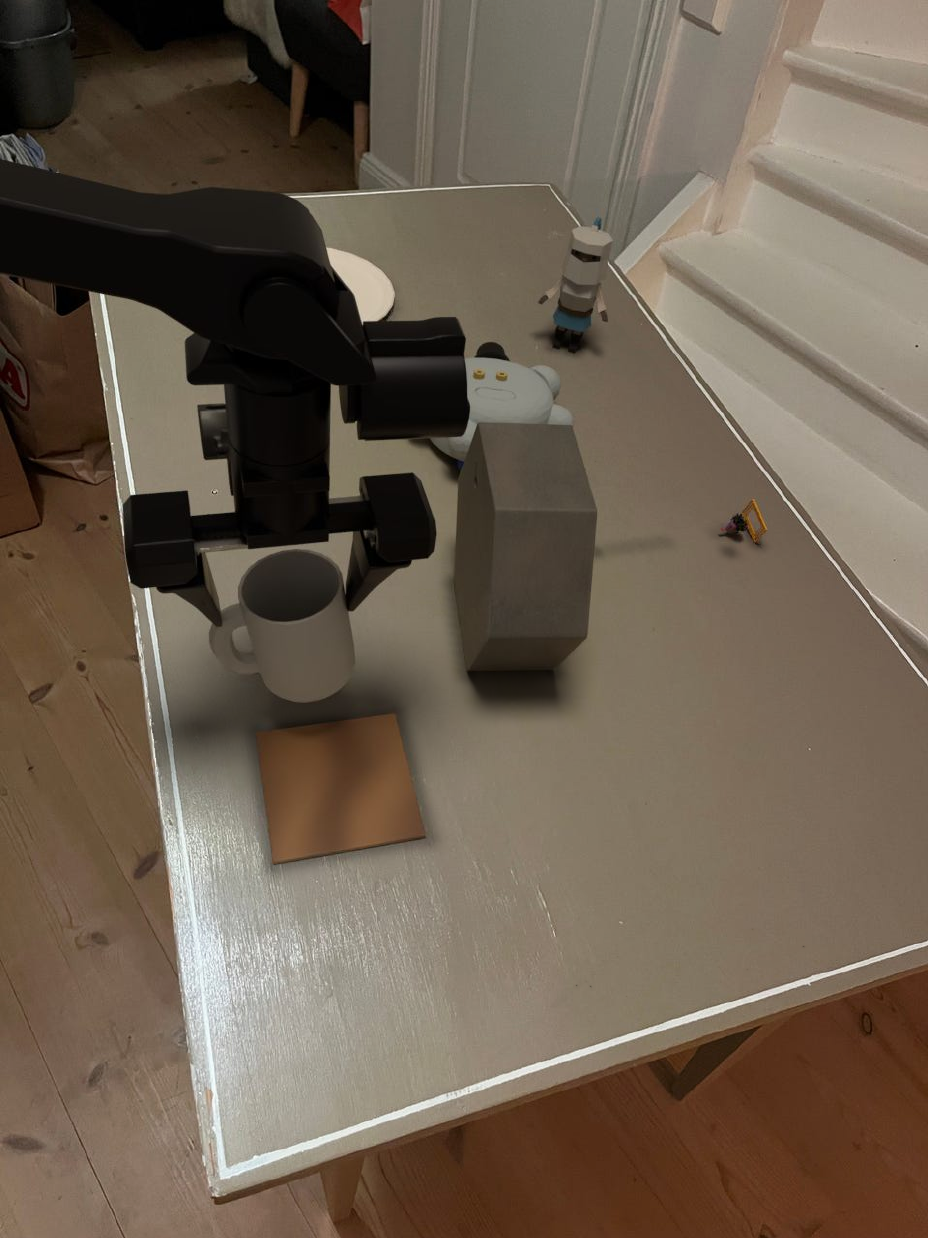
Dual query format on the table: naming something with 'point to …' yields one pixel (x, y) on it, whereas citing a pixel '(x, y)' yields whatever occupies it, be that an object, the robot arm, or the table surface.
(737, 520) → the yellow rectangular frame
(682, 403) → the table surface
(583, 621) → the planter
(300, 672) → the cup
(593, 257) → the toy
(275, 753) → the coaster
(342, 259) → the plate
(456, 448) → the figurine
